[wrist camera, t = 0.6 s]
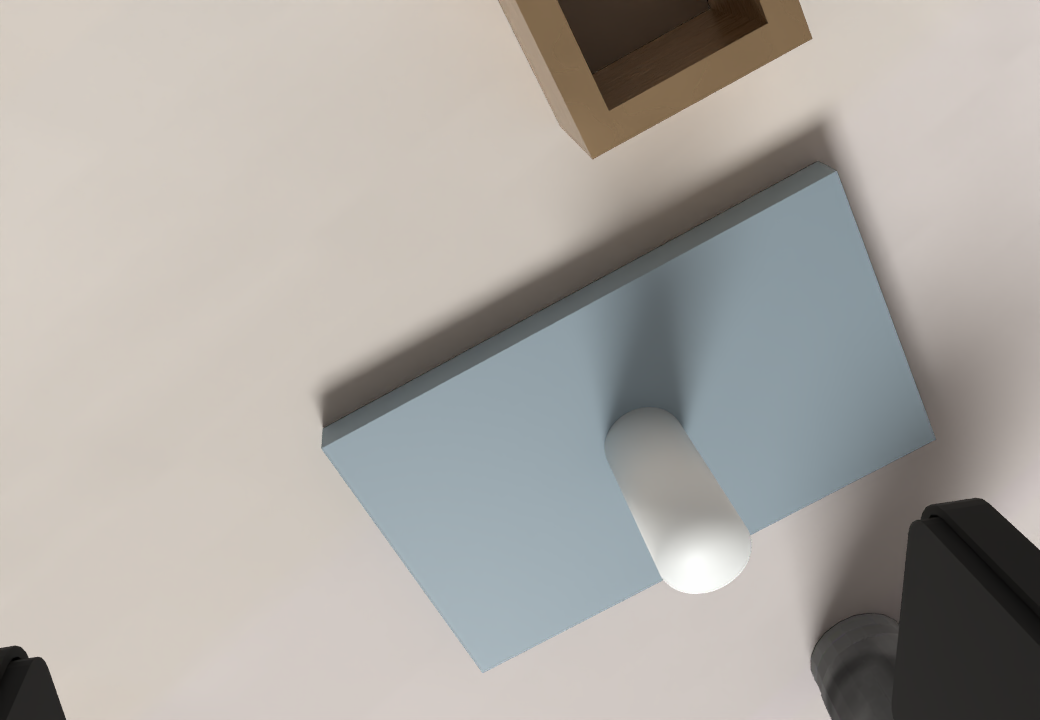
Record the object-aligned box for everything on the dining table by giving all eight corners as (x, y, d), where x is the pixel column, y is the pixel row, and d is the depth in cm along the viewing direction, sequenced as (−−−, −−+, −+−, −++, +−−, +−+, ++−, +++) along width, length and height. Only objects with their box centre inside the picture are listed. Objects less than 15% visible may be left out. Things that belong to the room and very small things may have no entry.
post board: (818, 161, 35) (948, 229, 27) (916, 421, 40) (1049, 541, 32) (322, 428, 36) (313, 565, 28) (478, 648, 41) (506, 815, 34)
